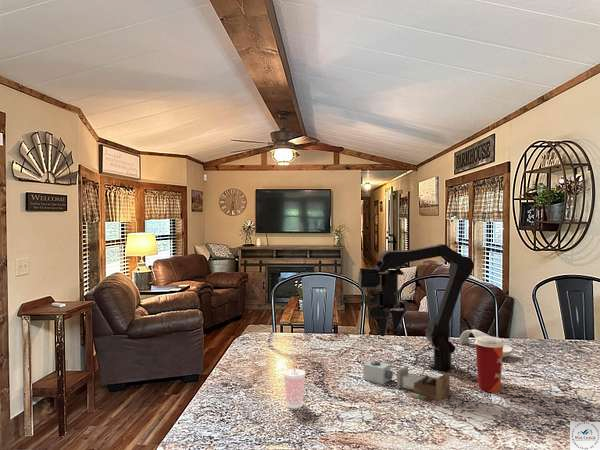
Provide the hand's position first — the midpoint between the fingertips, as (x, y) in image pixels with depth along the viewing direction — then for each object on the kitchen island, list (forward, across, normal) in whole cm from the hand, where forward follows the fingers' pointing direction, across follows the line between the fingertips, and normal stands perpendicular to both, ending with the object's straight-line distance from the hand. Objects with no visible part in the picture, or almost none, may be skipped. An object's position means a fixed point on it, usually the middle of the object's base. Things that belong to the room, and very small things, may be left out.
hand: (389, 333), depth 153 cm
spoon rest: (+12, -40, +20) cm, 46 cm away
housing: (+12, +13, +19) cm, 26 cm away
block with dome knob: (+12, +12, +2) cm, 17 cm away
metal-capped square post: (+12, +13, +15) cm, 23 cm away
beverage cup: (+12, +43, -7) cm, 45 cm away
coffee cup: (+12, -2, +32) cm, 34 cm away
